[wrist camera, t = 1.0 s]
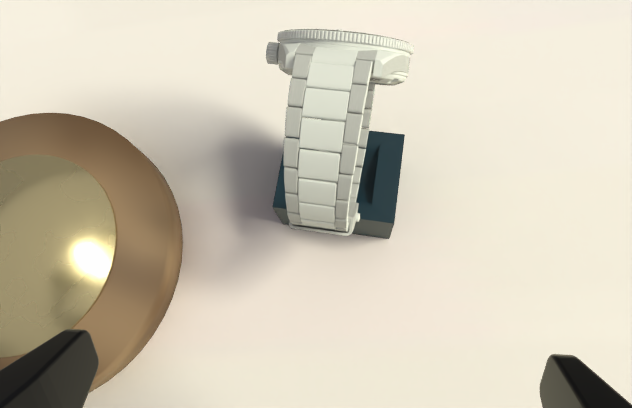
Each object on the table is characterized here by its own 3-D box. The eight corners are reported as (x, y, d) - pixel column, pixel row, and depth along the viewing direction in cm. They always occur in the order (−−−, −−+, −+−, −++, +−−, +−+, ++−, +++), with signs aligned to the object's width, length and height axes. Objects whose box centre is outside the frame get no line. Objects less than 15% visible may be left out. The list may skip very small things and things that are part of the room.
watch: (402, 126, 25) (436, -30, 14) (384, 273, 23) (409, 215, 12) (301, 115, 26) (263, -42, 15) (275, 256, 23) (209, 188, 13)
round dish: (138, 438, 22) (114, 449, 19) (-136, 379, 23) (-184, 382, 21) (211, 145, 26) (198, 128, 23) (-28, 115, 27) (-60, 96, 25)
